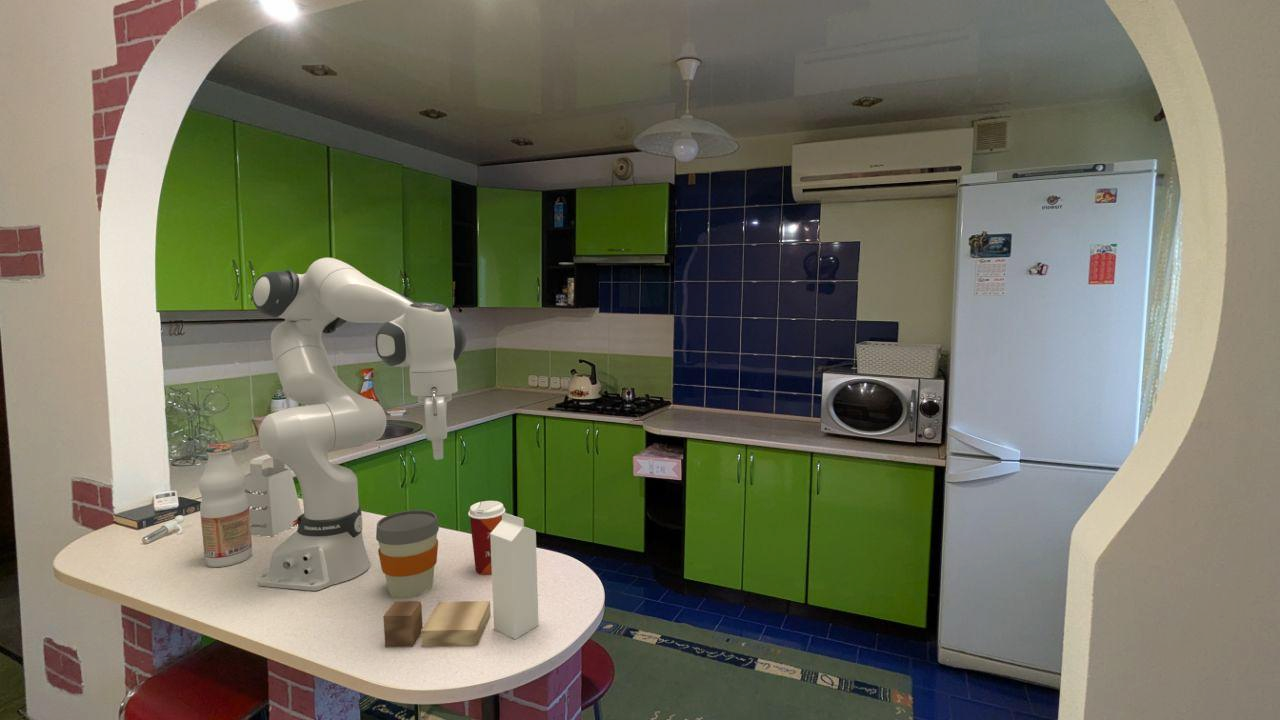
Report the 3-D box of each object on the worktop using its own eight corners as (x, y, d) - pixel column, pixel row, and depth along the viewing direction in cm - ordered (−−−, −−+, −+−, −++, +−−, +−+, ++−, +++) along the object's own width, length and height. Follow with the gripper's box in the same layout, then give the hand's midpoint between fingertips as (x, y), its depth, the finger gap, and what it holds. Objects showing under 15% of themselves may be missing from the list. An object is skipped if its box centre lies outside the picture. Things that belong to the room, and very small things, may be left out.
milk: (517, 615, 116) (514, 507, 114) (539, 625, 113) (536, 513, 110) (493, 629, 112) (489, 516, 109) (514, 640, 108) (511, 523, 106)
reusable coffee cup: (417, 605, 120) (413, 534, 119) (366, 597, 124) (361, 528, 122) (453, 577, 132) (450, 512, 131) (405, 570, 136) (401, 507, 134)
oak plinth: (421, 646, 106) (420, 630, 106) (439, 616, 116) (438, 601, 116) (477, 645, 106) (476, 629, 106) (490, 615, 116) (489, 601, 116)
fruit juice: (196, 569, 137) (184, 451, 134) (218, 552, 146) (208, 441, 143) (240, 566, 138) (230, 449, 135) (259, 549, 148) (250, 439, 144)
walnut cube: (385, 647, 106) (383, 616, 106) (396, 631, 111) (394, 601, 111) (413, 647, 106) (411, 615, 106) (422, 631, 111) (421, 601, 111)
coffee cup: (498, 578, 131) (495, 513, 130) (463, 575, 133) (461, 511, 131) (513, 562, 139) (511, 500, 138) (481, 559, 141) (478, 498, 139)
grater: (240, 534, 157) (233, 460, 155) (272, 519, 167) (266, 450, 165) (273, 537, 155) (267, 463, 153) (304, 522, 165) (298, 452, 163)
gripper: (451, 390, 108) (456, 464, 110) (449, 377, 128) (453, 440, 129) (415, 393, 106) (420, 468, 108) (418, 379, 126) (423, 443, 127)
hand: (438, 452), depth 119 cm, fingers open, 8 cm apart
